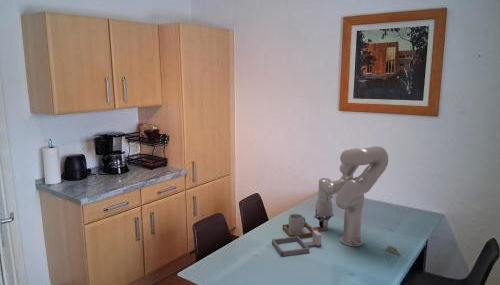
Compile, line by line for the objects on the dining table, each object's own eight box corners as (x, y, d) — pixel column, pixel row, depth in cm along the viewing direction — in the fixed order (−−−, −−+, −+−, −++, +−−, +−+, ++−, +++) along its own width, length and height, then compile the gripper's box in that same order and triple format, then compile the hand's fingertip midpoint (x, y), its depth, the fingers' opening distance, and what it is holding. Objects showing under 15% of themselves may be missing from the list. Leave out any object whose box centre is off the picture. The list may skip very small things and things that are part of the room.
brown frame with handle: (332, 234, 225) (332, 223, 223) (291, 239, 218) (292, 227, 217) (320, 224, 240) (321, 213, 239) (282, 228, 233) (282, 217, 232)
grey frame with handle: (326, 250, 204) (326, 238, 203) (281, 256, 198) (281, 243, 196) (313, 238, 219) (314, 226, 218) (271, 243, 213) (272, 231, 212)
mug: (295, 237, 221) (295, 220, 219) (285, 232, 227) (285, 215, 225) (309, 232, 228) (310, 215, 226) (299, 228, 234) (300, 211, 232)
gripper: (333, 195, 234) (332, 222, 237) (309, 197, 230) (308, 225, 233) (339, 199, 227) (338, 227, 230) (314, 201, 222) (314, 230, 226)
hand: (323, 226), depth 231 cm, fingers closed on brown frame with handle, 2 cm apart
